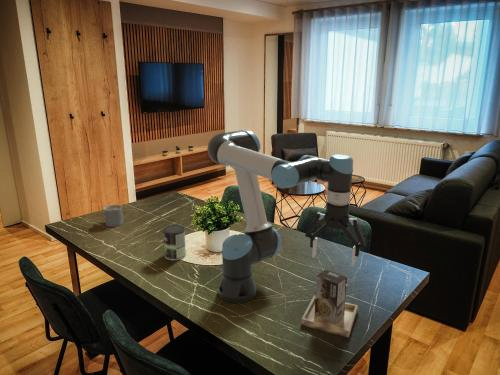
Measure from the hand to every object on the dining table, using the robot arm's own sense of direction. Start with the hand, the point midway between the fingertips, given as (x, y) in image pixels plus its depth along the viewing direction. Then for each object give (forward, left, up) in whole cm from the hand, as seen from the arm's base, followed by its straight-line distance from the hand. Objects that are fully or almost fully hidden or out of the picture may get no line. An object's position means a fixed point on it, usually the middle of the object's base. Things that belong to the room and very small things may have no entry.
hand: (333, 260), depth 135 cm
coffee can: (-80, +18, -23) cm, 85 cm away
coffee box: (0, 0, -23) cm, 23 cm away
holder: (0, 0, -23) cm, 23 cm away
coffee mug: (-138, +38, -23) cm, 145 cm away
